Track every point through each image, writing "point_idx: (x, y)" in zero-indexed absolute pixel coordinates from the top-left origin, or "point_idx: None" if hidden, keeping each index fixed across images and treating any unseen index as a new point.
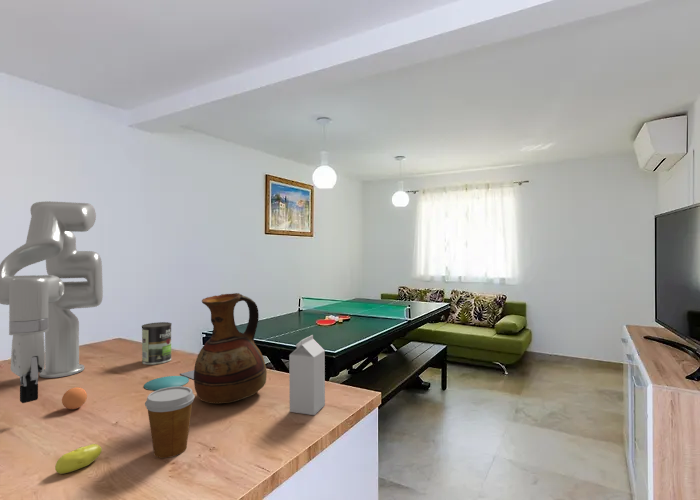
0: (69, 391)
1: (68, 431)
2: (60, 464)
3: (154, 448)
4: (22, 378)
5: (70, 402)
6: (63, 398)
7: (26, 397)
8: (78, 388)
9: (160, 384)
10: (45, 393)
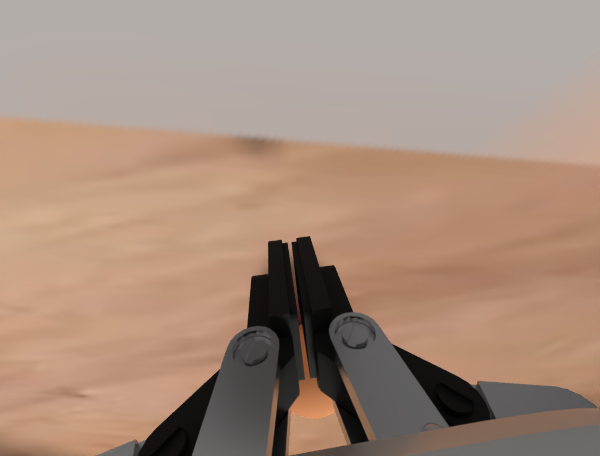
0: (304, 391)
1: (76, 303)
2: None
3: None
4: (349, 386)
5: None
6: (304, 352)
7: (252, 279)
8: (307, 416)
9: None
10: (564, 284)
